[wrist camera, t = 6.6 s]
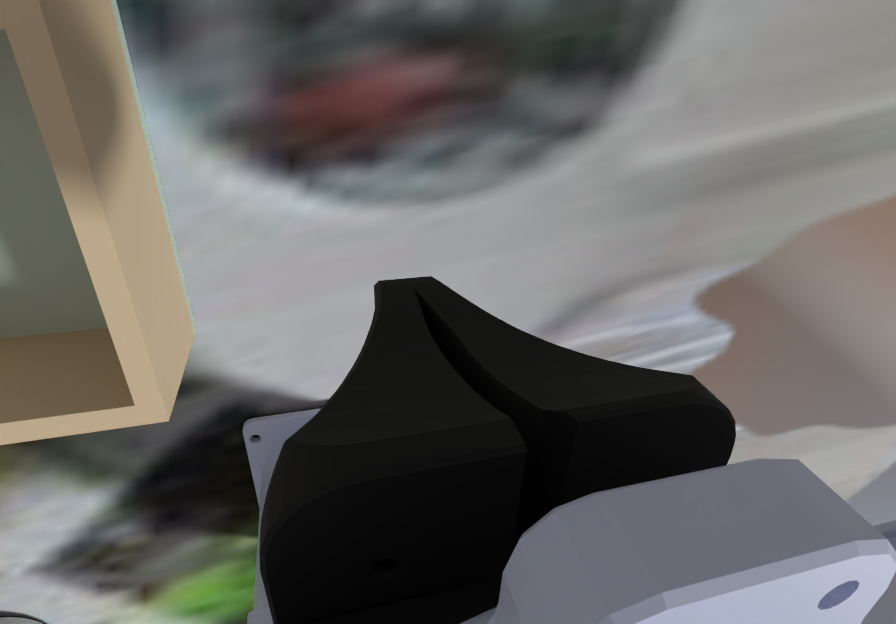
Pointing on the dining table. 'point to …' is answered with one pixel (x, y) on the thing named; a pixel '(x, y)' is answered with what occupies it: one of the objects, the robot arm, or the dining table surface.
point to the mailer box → (82, 232)
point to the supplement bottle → (17, 620)
